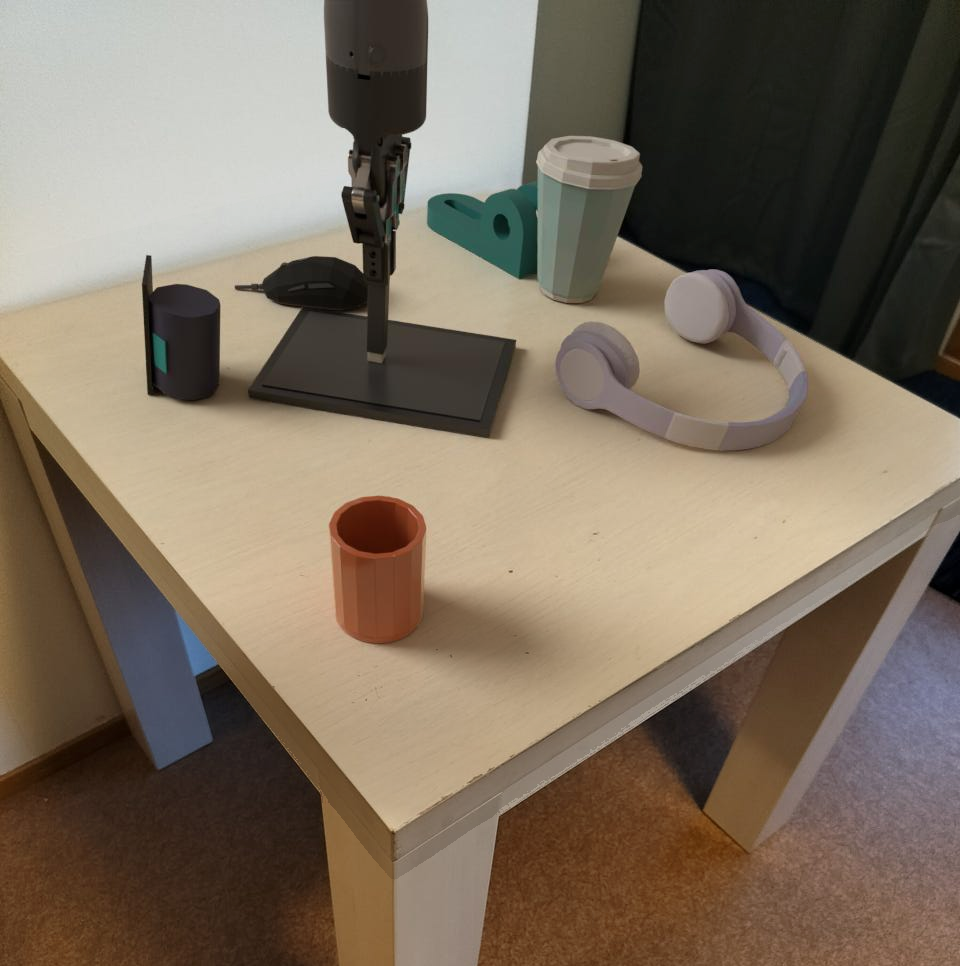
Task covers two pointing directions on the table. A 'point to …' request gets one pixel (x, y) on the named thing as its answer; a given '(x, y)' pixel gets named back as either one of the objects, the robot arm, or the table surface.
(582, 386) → the headphones
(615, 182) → the disposable coffee cup
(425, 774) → the table surface
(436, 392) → the tablet
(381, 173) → the robot arm
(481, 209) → the bracket
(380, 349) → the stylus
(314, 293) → the gaming mouse
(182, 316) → the speaker
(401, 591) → the pen cup
